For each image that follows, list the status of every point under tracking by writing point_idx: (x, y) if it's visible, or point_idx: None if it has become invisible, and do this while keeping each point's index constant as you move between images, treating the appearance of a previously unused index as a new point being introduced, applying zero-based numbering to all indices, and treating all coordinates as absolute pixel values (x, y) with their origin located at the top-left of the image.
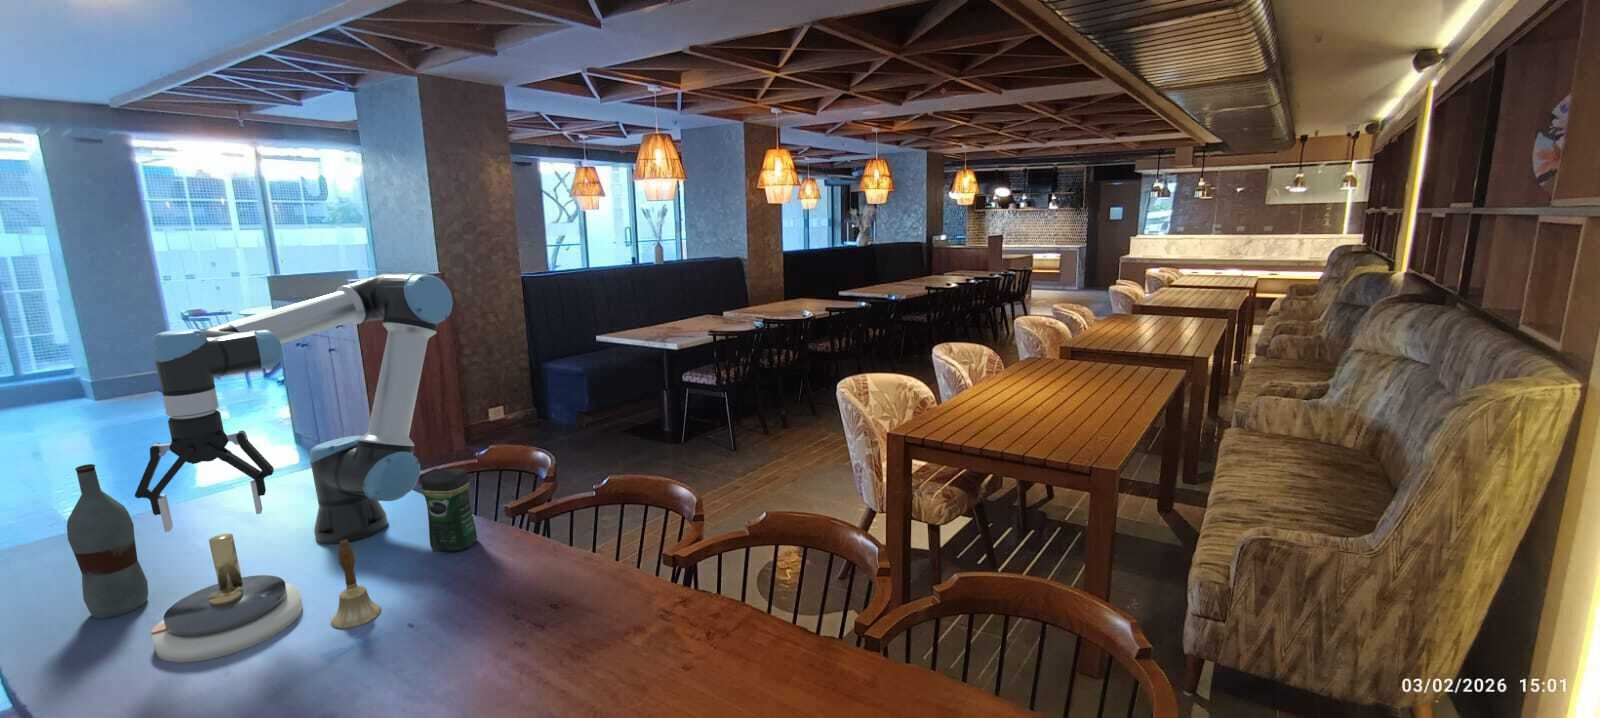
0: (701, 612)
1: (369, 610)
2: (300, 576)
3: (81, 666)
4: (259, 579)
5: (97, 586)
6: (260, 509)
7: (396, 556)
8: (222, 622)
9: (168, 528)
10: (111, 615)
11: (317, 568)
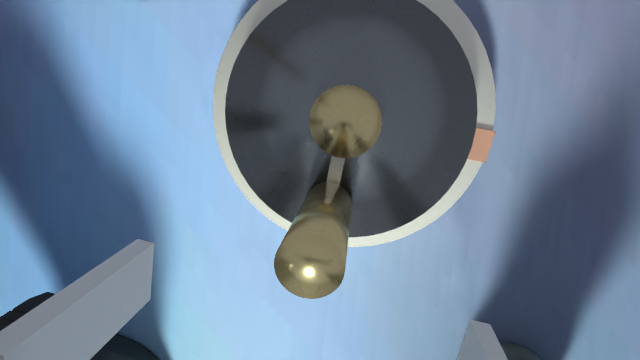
0: None
1: None
2: (216, 249)
3: (598, 164)
4: (272, 183)
5: None
6: (124, 248)
7: (48, 192)
8: None
9: (478, 330)
10: (521, 347)
11: (186, 261)
